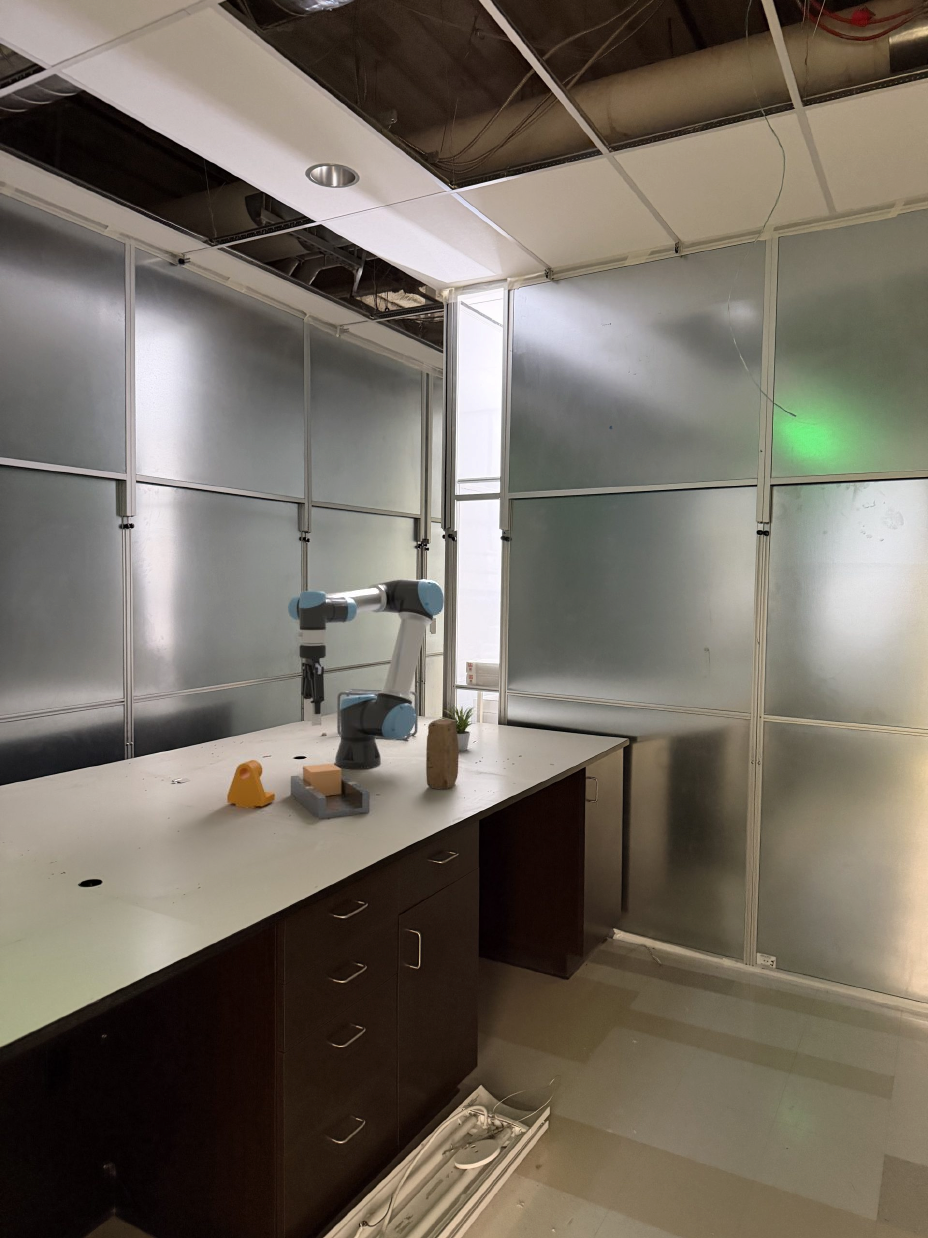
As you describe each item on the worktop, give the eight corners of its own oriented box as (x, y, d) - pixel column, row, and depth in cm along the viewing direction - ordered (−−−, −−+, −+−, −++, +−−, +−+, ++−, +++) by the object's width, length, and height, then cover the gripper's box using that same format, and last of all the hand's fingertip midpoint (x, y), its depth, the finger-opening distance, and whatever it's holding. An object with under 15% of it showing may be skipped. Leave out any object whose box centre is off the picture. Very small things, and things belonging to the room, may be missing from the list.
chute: (290, 795, 235) (290, 775, 234) (337, 789, 241) (337, 770, 241) (318, 819, 212) (318, 797, 211) (369, 812, 218) (369, 791, 218)
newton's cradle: (336, 736, 322) (337, 691, 321) (346, 731, 332) (347, 688, 331) (409, 741, 315) (410, 695, 314) (417, 736, 325) (418, 691, 324)
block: (446, 791, 241) (447, 723, 240) (423, 788, 244) (424, 721, 243) (461, 783, 250) (462, 718, 249) (439, 780, 253) (439, 716, 252)
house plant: (457, 743, 311) (457, 700, 311) (487, 747, 303) (488, 703, 303) (434, 749, 300) (434, 704, 299) (464, 754, 292) (465, 708, 291)
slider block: (303, 790, 233) (303, 766, 233) (332, 787, 237) (332, 763, 237) (311, 797, 226) (311, 772, 226) (341, 794, 230) (341, 769, 230)
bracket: (276, 802, 227) (275, 759, 227) (262, 809, 220) (261, 765, 220) (242, 799, 231) (241, 756, 230) (227, 805, 224) (227, 762, 223)
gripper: (290, 642, 244) (290, 718, 246) (310, 647, 227) (310, 729, 228) (314, 641, 248) (314, 716, 249) (336, 646, 230) (335, 727, 232)
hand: (312, 722), depth 239 cm, fingers open, 7 cm apart
